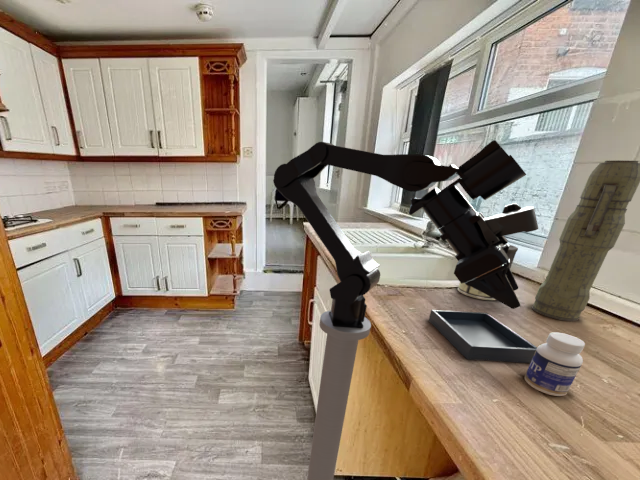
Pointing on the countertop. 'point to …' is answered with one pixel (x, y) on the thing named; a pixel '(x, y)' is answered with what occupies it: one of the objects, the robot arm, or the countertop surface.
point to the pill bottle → (555, 364)
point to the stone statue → (587, 239)
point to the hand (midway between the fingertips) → (516, 298)
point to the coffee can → (478, 294)
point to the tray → (482, 336)
